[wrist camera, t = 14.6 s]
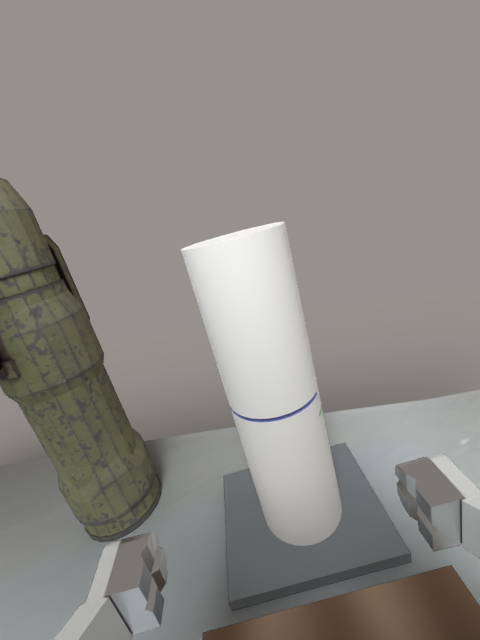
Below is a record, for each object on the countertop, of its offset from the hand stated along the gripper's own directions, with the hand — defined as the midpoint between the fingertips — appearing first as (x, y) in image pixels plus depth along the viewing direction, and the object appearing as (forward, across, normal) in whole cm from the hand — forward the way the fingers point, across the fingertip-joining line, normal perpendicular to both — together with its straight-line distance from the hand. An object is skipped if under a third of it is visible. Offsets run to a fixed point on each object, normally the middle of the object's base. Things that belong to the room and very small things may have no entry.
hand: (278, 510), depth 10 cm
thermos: (+21, +18, +19) cm, 33 cm away
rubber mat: (+14, -1, +18) cm, 23 cm away
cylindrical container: (+14, -2, +17) cm, 22 cm away
